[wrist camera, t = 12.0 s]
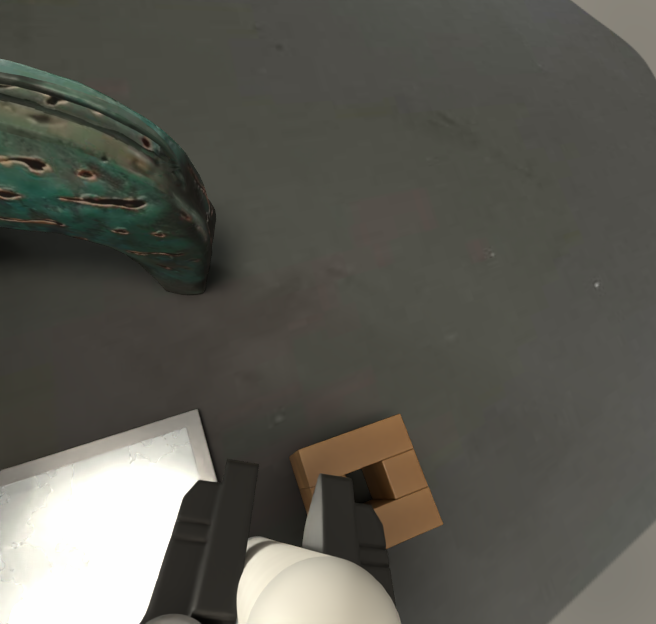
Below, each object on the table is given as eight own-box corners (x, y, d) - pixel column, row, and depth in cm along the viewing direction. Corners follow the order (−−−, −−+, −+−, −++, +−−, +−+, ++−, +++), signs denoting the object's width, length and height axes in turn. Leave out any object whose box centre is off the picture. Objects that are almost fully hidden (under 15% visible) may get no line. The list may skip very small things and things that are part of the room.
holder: (288, 456, 31) (297, 449, 26) (377, 425, 32) (400, 413, 28) (321, 558, 29) (336, 570, 24) (412, 520, 31) (443, 524, 26)
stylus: (227, 545, 17) (216, 604, 4) (268, 528, 18) (389, 528, 4) (240, 592, 17) (278, 844, 3) (282, 573, 17) (466, 729, 4)
